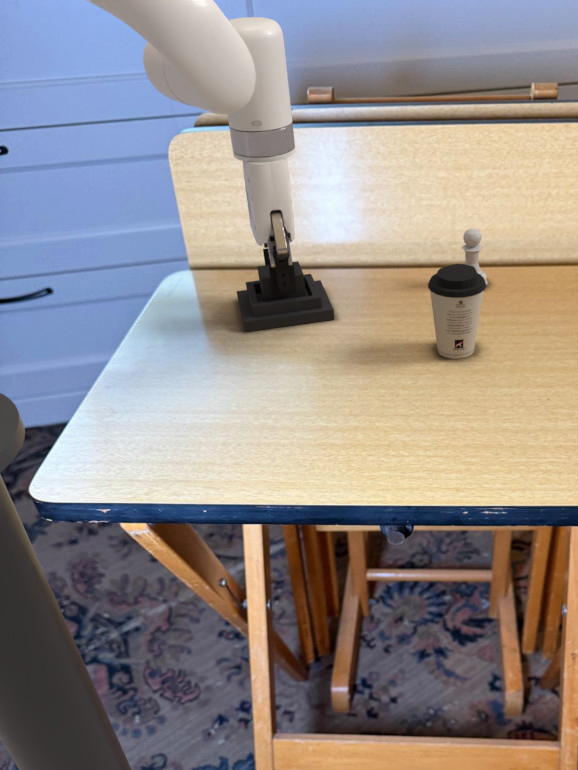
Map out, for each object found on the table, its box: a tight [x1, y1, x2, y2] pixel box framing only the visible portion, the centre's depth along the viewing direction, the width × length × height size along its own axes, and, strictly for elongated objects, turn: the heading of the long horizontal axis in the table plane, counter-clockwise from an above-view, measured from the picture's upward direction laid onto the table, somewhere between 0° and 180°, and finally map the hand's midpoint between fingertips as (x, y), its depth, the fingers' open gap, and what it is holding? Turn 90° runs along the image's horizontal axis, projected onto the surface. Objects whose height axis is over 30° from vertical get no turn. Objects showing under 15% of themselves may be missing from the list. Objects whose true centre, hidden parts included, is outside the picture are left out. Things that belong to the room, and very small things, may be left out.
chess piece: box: [461, 228, 488, 286], centre depth 112 cm, size 5×5×8 cm
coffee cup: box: [427, 263, 487, 360], centre depth 97 cm, size 7×7×10 cm
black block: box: [256, 260, 306, 302], centre depth 107 cm, size 6×5×4 cm
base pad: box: [236, 273, 335, 333], centre depth 109 cm, size 12×10×3 cm
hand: (281, 283), depth 107 cm, fingers open, 5 cm apart
